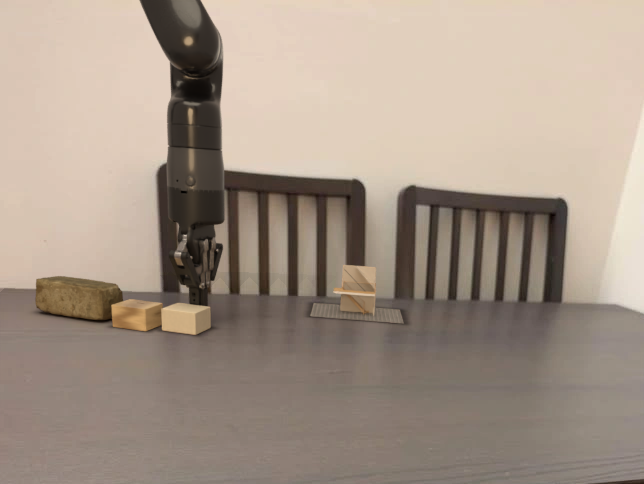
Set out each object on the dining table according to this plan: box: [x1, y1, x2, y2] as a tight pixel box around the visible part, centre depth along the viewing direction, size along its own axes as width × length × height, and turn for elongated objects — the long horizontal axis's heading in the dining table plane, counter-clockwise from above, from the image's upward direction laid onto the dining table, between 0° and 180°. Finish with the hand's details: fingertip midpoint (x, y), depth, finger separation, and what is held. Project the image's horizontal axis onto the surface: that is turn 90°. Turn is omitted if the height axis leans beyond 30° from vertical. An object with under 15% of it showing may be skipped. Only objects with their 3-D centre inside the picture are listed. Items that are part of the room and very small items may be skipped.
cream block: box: [161, 302, 212, 336], centre depth 101 cm, size 5×5×3 cm
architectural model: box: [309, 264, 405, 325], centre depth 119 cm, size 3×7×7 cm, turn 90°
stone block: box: [34, 275, 124, 321], centre depth 103 cm, size 6×12×5 cm, turn 74°
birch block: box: [111, 298, 164, 332], centre depth 101 cm, size 5×5×3 cm
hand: (198, 314), depth 105 cm, fingers closed
